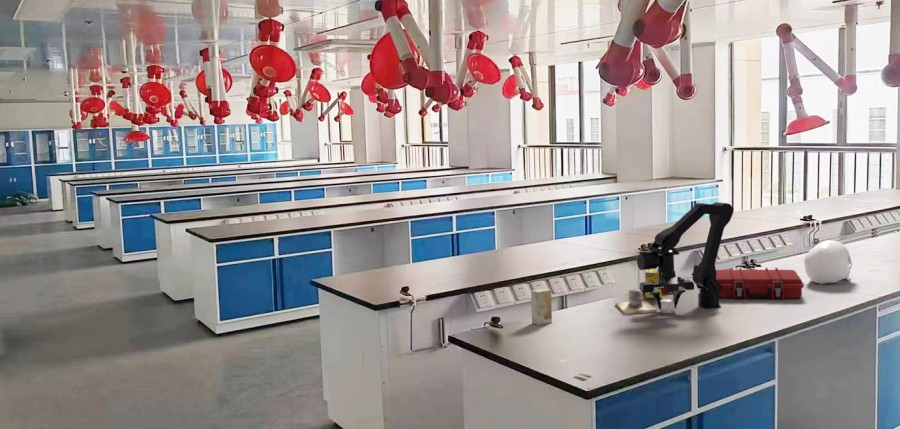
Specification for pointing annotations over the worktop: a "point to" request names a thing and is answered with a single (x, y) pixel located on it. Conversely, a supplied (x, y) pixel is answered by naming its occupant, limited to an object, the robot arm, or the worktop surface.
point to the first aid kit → (759, 283)
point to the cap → (667, 306)
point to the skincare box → (541, 306)
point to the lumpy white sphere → (828, 262)
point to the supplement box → (653, 278)
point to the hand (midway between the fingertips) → (667, 308)
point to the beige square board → (635, 304)
